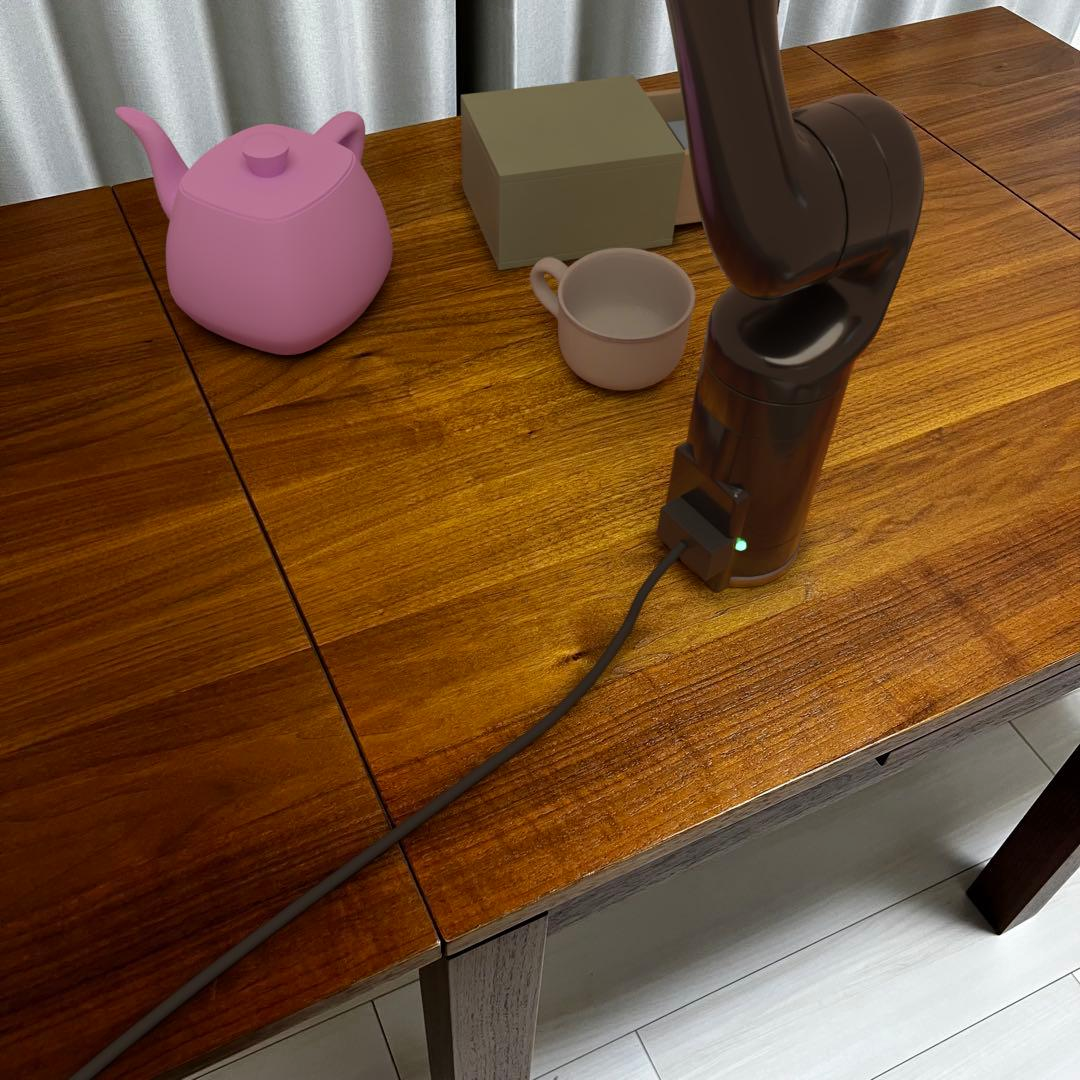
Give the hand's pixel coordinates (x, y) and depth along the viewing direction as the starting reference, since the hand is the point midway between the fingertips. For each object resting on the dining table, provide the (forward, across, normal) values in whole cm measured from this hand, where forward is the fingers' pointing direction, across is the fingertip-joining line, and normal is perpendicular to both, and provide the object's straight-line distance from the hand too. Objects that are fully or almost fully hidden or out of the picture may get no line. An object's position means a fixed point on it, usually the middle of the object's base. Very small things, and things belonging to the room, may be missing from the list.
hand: (722, 35), depth 103 cm
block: (+14, 0, 0) cm, 14 cm away
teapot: (+16, +6, -41) cm, 44 cm away
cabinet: (+16, 0, -13) cm, 21 cm away
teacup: (+16, +20, -16) cm, 31 cm away
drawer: (+15, 0, +1) cm, 15 cm away
